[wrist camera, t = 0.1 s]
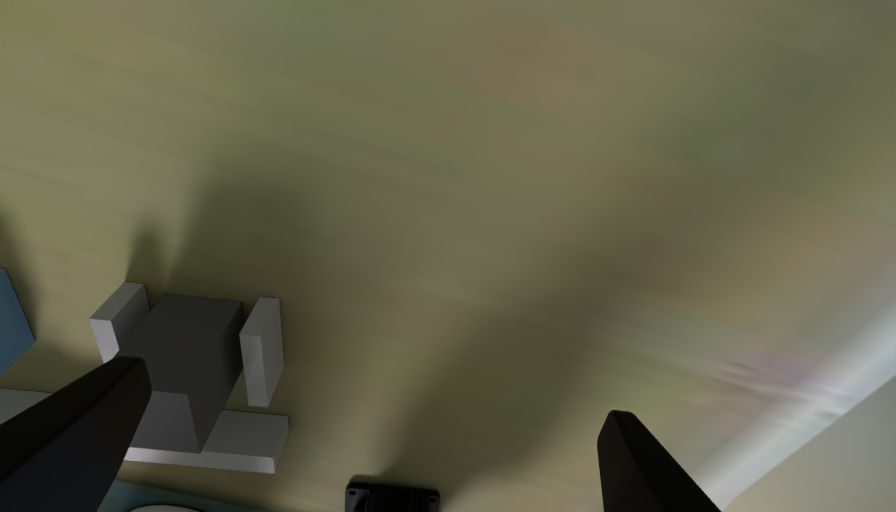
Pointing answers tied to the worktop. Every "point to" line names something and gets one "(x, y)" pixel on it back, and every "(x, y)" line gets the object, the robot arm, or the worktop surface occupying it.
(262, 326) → the grey and blue blocks
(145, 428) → the dark grey rectangular block
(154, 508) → the fruit juice
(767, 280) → the worktop surface
